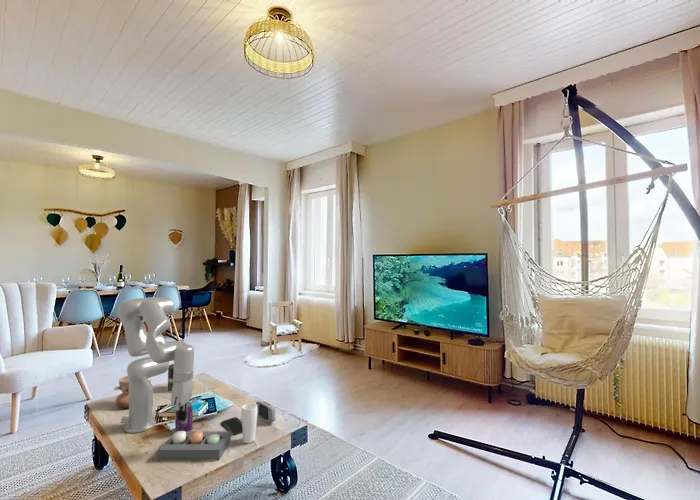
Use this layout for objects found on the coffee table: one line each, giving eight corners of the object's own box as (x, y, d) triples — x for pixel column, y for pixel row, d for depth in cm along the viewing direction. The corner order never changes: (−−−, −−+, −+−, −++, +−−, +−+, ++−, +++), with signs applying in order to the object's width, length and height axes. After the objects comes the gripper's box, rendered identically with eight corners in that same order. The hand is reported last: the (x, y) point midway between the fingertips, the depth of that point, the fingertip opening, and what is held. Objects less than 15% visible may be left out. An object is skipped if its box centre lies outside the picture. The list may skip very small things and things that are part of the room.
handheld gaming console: (254, 415, 172) (254, 400, 172) (259, 413, 175) (259, 398, 175) (271, 425, 163) (272, 408, 163) (276, 423, 165) (277, 406, 165)
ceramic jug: (118, 414, 172) (119, 385, 172) (108, 405, 181) (109, 378, 181) (156, 402, 186) (157, 376, 187) (144, 395, 195) (146, 370, 196)
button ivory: (170, 446, 140) (170, 436, 140) (176, 439, 144) (176, 430, 144) (182, 446, 140) (182, 437, 140) (187, 439, 144) (188, 430, 144)
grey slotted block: (158, 459, 135) (158, 449, 135) (175, 440, 149) (175, 431, 149) (219, 459, 135) (219, 449, 135) (230, 440, 149) (230, 431, 149)
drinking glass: (238, 440, 150) (238, 406, 150) (252, 434, 154) (252, 401, 155) (245, 446, 145) (246, 411, 145) (259, 440, 150) (260, 406, 150)
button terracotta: (187, 446, 140) (188, 437, 140) (193, 439, 144) (193, 430, 145) (199, 446, 140) (199, 437, 140) (204, 439, 145) (204, 430, 145)
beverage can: (195, 428, 159) (196, 402, 159) (184, 436, 152) (185, 409, 153) (183, 426, 161) (183, 400, 161) (171, 433, 154) (172, 407, 154)
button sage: (205, 449, 140) (205, 440, 140) (209, 442, 145) (209, 434, 145) (216, 449, 140) (217, 440, 140) (221, 442, 145) (221, 434, 145)
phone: (236, 416, 170) (249, 428, 158) (236, 419, 170) (249, 430, 158) (220, 421, 164) (233, 434, 153) (220, 424, 164) (233, 436, 153)
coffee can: (188, 389, 204) (189, 365, 204) (170, 394, 197) (170, 369, 197) (183, 384, 211) (183, 361, 212) (165, 388, 205) (165, 365, 205)
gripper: (182, 369, 150) (181, 410, 150) (165, 382, 135) (163, 428, 135) (199, 369, 150) (198, 411, 150) (184, 382, 135) (183, 429, 135)
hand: (182, 419), depth 142 cm, fingers closed
